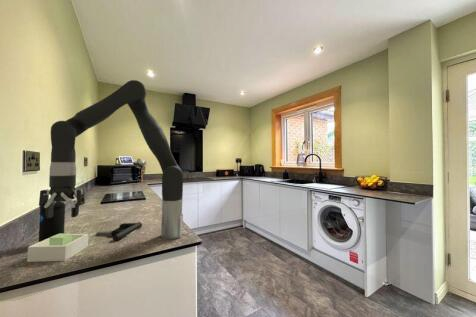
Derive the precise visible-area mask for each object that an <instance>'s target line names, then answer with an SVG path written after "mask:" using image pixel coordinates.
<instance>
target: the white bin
mask: <svg viewBox="0 0 476 317" xmlns="http://www.w3.org/2000/svg"><path fill="white" fill-rule="evenodd" d="M54 236H55V235H54ZM52 237H53V236H52ZM50 238H51V237H50ZM88 247H89V233H75V234H74V233H72V242H70V243H68V244H67V245H58V246H49V238H48V239H45V240H43V241H41V242H39V241H38V242H36V243H34V244H32V245H29V246H28V247H27V257H26V258H27V260H26V262H27V263H31V262H32V263H33V262H34V263H35V262H36V263H37V262H61V261H62V262H65V261H67V260H68V259H70V258H72V257H73V256H75V255H76V254H78V253H79V252H81V251H83V250H84V249H86V248H88Z"/></svg>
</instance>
